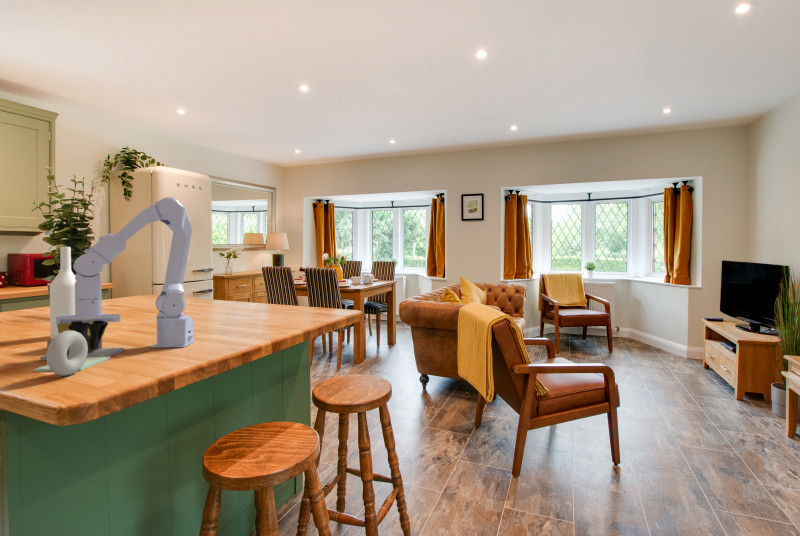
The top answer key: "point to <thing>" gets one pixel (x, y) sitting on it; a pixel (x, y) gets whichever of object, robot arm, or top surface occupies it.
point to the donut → (59, 353)
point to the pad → (88, 363)
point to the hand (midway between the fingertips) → (89, 349)
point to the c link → (87, 344)
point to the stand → (99, 353)
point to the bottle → (62, 291)
